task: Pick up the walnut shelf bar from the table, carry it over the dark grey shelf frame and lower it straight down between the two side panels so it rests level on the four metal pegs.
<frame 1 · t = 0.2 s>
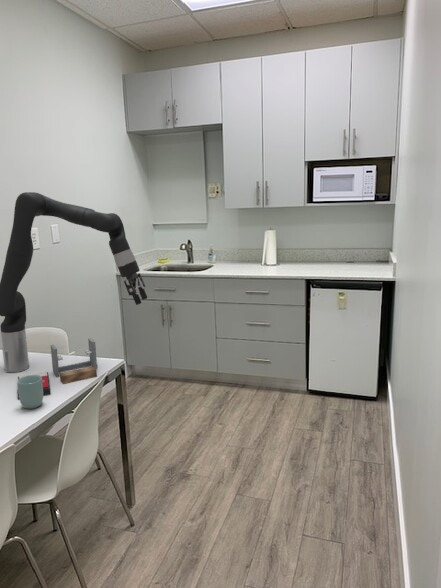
hand: (142, 301, 172), 31 cm above the table, tool tilted 20°, fingers open, 8 cm apart
cup: (32, 406, 153), on the table
calculator: (34, 390, 166), on the table
shelf frame: (75, 370, 183), on the table
shelf bar: (78, 379, 175), on the table
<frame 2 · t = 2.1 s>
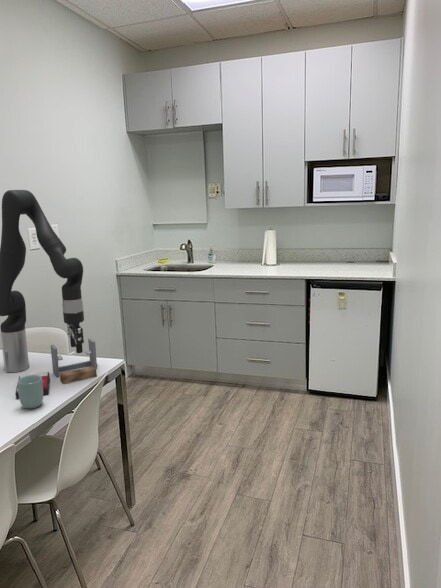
hand: (76, 349, 173), 12 cm above the table, tool pointing down, fingers open, 8 cm apart
nothing on the table moved.
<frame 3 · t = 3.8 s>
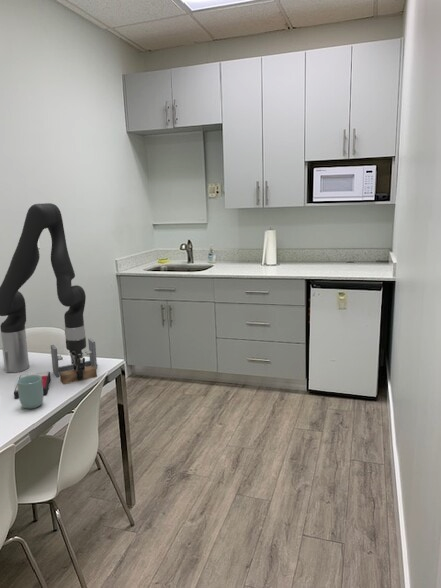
hand: (78, 377, 175), 1 cm above the table, tool pointing down, fingers closed on shelf bar, 4 cm apart
shelf bar: (78, 378, 175), on the table, touching gripper
everything else where it was.
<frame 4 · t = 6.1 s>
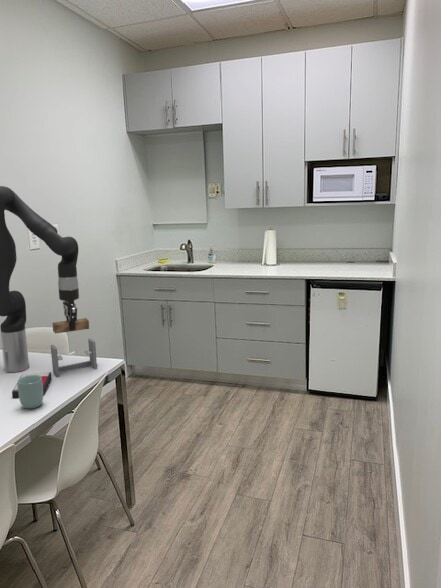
hand: (71, 328, 178), 19 cm above the table, tool pointing down, fingers closed on shelf bar, 4 cm apart
shelf bar: (71, 329, 178), point 18 cm above the table, touching gripper
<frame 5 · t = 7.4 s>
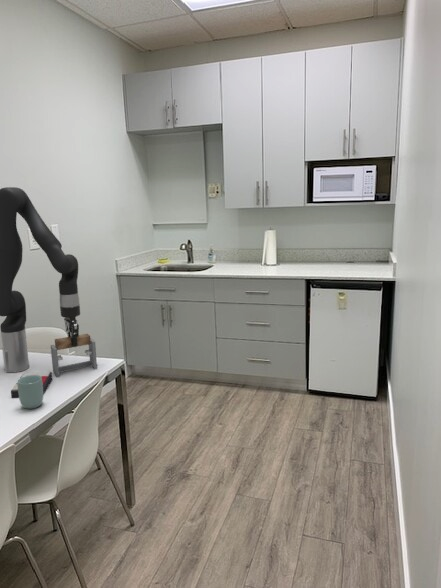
hand: (73, 344, 181), 12 cm above the table, tool pointing down, fingers closed on shelf bar, 4 cm apart
shelf bar: (73, 345, 181), point 11 cm above the table, touching gripper
when the fingers open (9 cm above the table, at t = 8.3 s): shelf bar stays where it is, resting on shelf frame.
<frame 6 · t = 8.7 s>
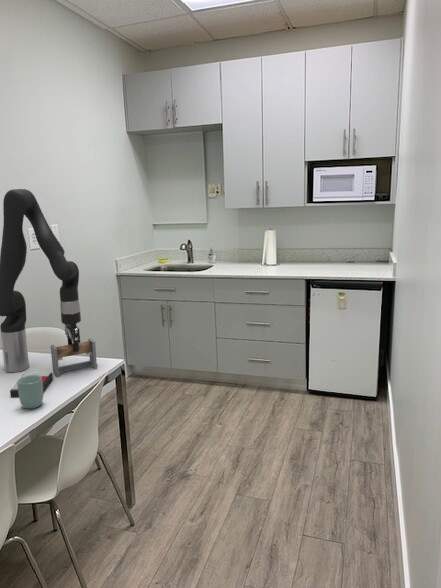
hand: (73, 348, 181), 10 cm above the table, tool pointing down, fingers open, 8 cm apart
shelf bar: (73, 353, 182), point 8 cm above the table, touching shelf frame
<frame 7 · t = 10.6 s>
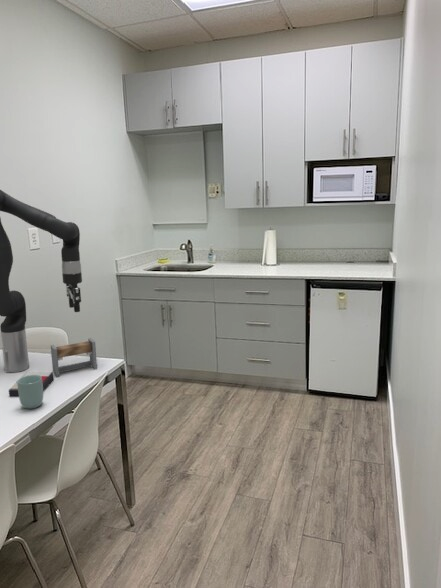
hand: (74, 309, 184), 25 cm above the table, tool pointing down, fingers open, 8 cm apart
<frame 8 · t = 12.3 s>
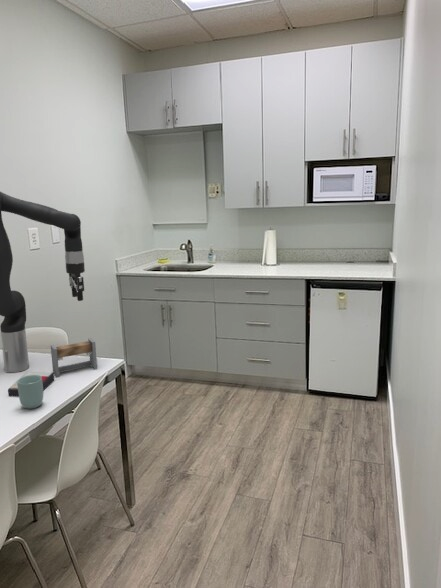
hand: (77, 298, 189), 28 cm above the table, tool pointing down, fingers open, 8 cm apart
at the end: shelf bar 0.0 cm off-centre on the shelf frame, point 7.6 cm above the shelf frame's base; shelf bar tilted 0°; the gripper is holding nothing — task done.
